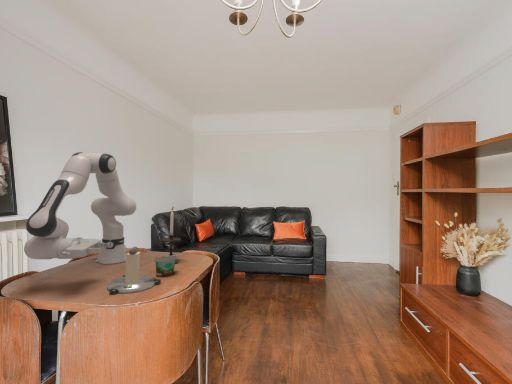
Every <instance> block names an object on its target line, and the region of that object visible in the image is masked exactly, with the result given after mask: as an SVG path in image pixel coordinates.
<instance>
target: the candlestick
mask: <svg viewBox="0 0 512 384" xmlns="http://www.w3.org/2000/svg"><path fill="white" fill-rule="evenodd" d="M174 214H175V213H174V206H172V207H171V213H170V215H169V216H170V221H169V226H170V227H169V237H164V238H162V239H161V242H162V243H168V244H169V249H168V252H169V253H168V256H170V255H173V252H174V249H173V244H174V243H178V242H181V238H180V237H174V236H175V234H174V221H175V220H174V218H175V217H174V216H175V215H174ZM176 263H177V264H179V259H175V265H176Z"/></svg>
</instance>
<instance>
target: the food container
mask: <svg viewBox="0 0 512 384" xmlns="http://www.w3.org/2000/svg"><path fill="white" fill-rule="evenodd" d="M172 254H173V255H163V256H161V257H158V256H157V257H156V256H155V257H154V260H153V261H154V262H155V274H156V275H155V276H156V277H158V278H164V277H167V278H168V277H171V276H173V275H174V274H175V265H176V264H175V259H176V260H178V259H177V254H176V253H173V252H172Z"/></svg>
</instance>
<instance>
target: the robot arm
mask: <svg viewBox="0 0 512 384" xmlns="http://www.w3.org/2000/svg"><path fill="white" fill-rule="evenodd" d="M116 167H117V161H116V158H114V156H113V155H111V154H109V153H103V152H93V151H92V152H84V151H83V152H82V151H80V152H75V153H73V154H72V155H71V157H70V158H69V159H68V160H67V161H66V163H65V165H64V167H63V168H62V171H61V172H60V175H59V176H58V178H57V180H55V181H54V182H53V183H52V185H51V186H50V187H49V189H48V191H47V192H46V194H45V196H44V197H43V199H42V201H41V203H40V205H39V206H38V207H37V209H36V210H35V211H34V212H33V213H32V214H31V215H30V216H29V217H28V219H27V220H26V222H25V228H26V231H27V232H28V234H30V235H32V236H33V237H31V238H30V239H29V240H27V241H26V242H25V243H24V247H23V250H24V251H23V252H24V254H25V255H26V257H28V258H30V259H31V260H53V259H59V260H65V259H66V260H69V259H72V260H73V259H75V258H78V259H79V258H86V257H87V256H89V255H91V254H95V253H96V254H98V255H97V259H95V260H94V261H95V263H99V264H103V265H110V264H118V263H120V264H121V263H123V262H126V254H128V252H127V251H128V250H127V246H126V245H125V237H124V229H125V228H124V224H123V223H122V222H120V221H118V220H117V219H116V217H118V216H119V217H120V216H121V217H126V216H130V215H134V213H135V212H136V210H137V203H136V201H135V200H134V199H133V198H131V197H129V196H128V195H127V194H126V193H125V192H124V190H123V189H122V187H121V183H120V181H119V180H120V179H119V175H118V174H119V173H118V170H117V168H116ZM90 174H95V178H96V183H97V186H98V190H99V192H100V194H102V195H103V196H105V197H100V198H95V199H93V200H92V202H91V205H90V209H91V212H92V213H93V214H94V215H95V216H97V217H98V219H99V221H100V223H101V225H102V238H101V239H99V238H83V237H70V238H68V237H67V236H68V233H69V230H70V229H69V224H68V223H67V222H65V220H63V219H61V218H60V217H57V212H58V210H59V208H60V206H61V204H62V202H63V201H64V199H65V197H67V196H69V195H78V194H79V193H82V192H83V191H84V190H85V188H86V186H87V183H88V181H89V178H90Z"/></svg>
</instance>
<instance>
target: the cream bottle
mask: <svg viewBox="0 0 512 384" xmlns="http://www.w3.org/2000/svg"><path fill="white" fill-rule="evenodd" d="M138 249H139V248H138V247H137V246H133V247H131V249H130V250H129V252H127V254H126V261H125V275H126V277H125V284H131V283H138V281H139V280H140V275H141V254H142V253H141V251H138Z"/></svg>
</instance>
